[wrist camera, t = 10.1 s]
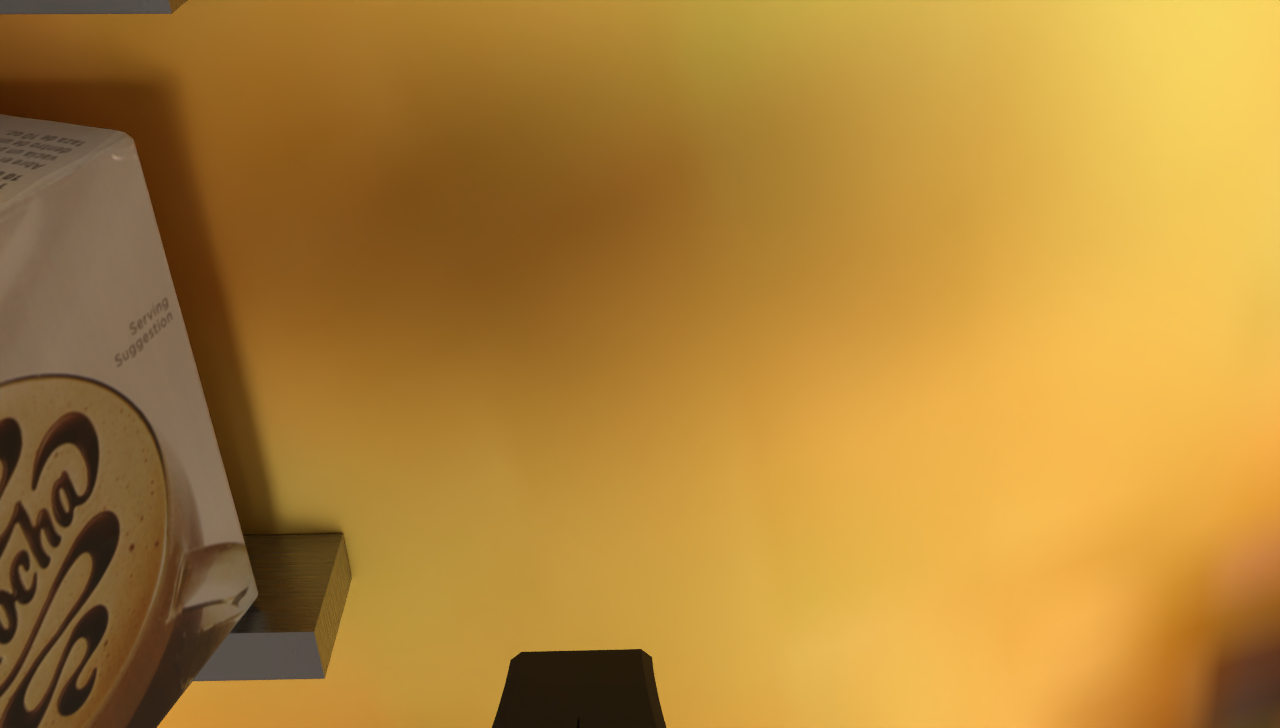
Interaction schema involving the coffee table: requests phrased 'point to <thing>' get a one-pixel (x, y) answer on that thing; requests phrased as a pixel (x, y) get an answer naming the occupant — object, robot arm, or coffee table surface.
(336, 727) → the coffee table surface
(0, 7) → the slot rack
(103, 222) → the coffee box
